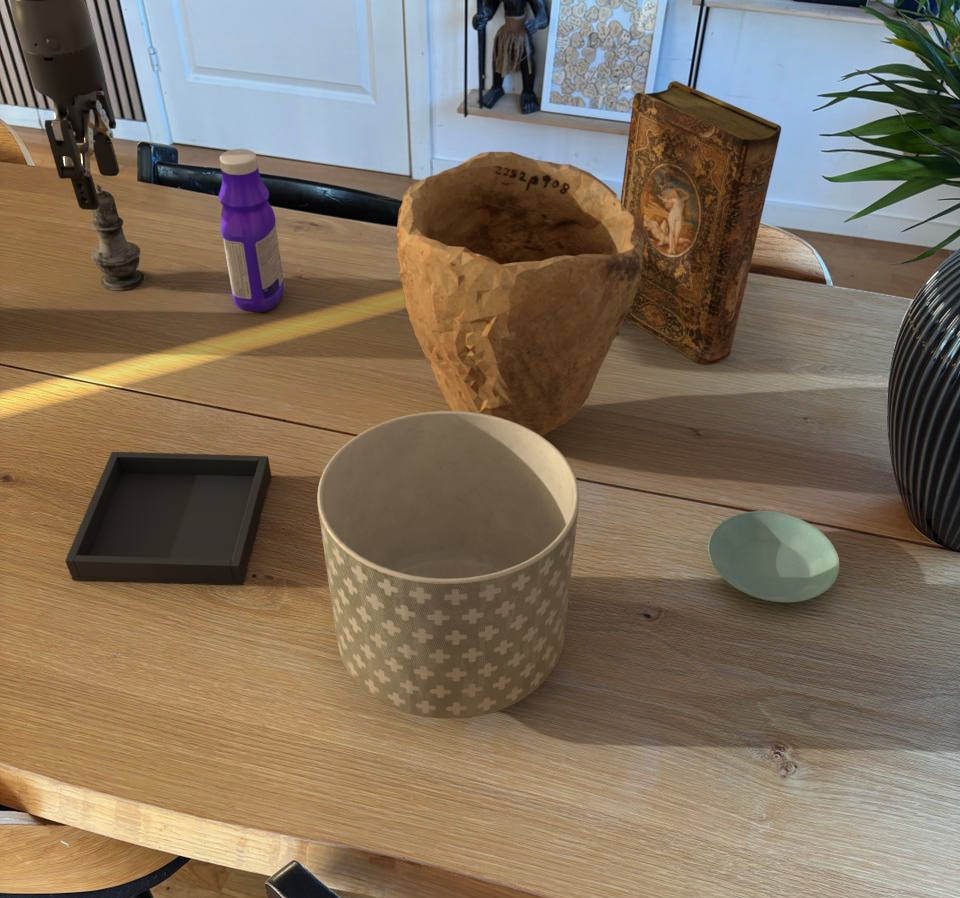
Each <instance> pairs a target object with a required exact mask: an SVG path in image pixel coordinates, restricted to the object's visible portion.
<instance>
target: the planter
mask: <svg viewBox="0 0 960 898" xmlns="http://www.w3.org/2000/svg"><path fill="white" fill-rule="evenodd" d="M570 464H571V463H570V462H569V460H567V458H566V456H564V454H563V453H562V452H561V451H560V450H559V449H558V448H557V446H555V445H553V444H552V443H551V441H549V440H548V439H546V438H545V437H544V436H540V435H539V434H537V433H535V432H534V431H532V430H530V429H528V428H526V427H524V426H522V425H519V424H517V423H514V422H512V421H509V420H506V419H502V418H499V417H495V416H491V415H486V414H480V413H473V412H463V411H452V410H439V411H436V410H435V411H426V412H419V413H412V414H408V415H407V414H406V415H403V416H399V417H395V418H393V419H390V420H386V421H383V422H381V423H378V424H377V425H374V426H372V427H370V428H368V429H366V430H364V431H362V432H361V433H359V434H358V435H356V436H354V437H353V438H351V439H349V441H347V442H346V443H345V444H344V445H342V446H341V447H340V449H338V451H336V453H334V455H333V456H332V457H331V459H330V460H329V462H328V463H327V464H326V466H325V468H324V470H323V471H322V474H321V476H320V480H319V483H318V487H317V496H316V498H317V499H316V500H317V511H318V517H319V525H320V532H321V539H322V545H323V552H324V560H325V567H326V574H327V582H328V588H329V596H330V602H331V609H332V616H333V624H334V631H335V638H336V644H337V649H338V653H339V655H340V659H341V661H342V663H343V665H344V668H345V669H346V670H347V672H348V674H349V675H350V676H351V677H352V678H353V680H354V681H355V682H356V683H357V684H358V685H359V686H360V687H361V688H362V690H364V691H365V692H366V693H368V694H369V695H371V697H373V698H375V699H376V700H378V701H379V702H382V703H383V704H385V705H387V706H389V707H391V708H394V709H396V710H399V711H401V712H405V713H408V714H411V715H416V716H420V717H425V718H432V719H446V720H447V719H449V720H450V719H451V720H452V719H466V718H474V717H479V716H483V715H488V714H492V713H495V712H497V711H500V710H503V709H506V708H507V707H511V706H512V705H515V704H516V703H518V702H520V701H522V700H523V699H524V698H526V697H527V696H529V695H531V694H532V693H534V692H535V690H536V689H537V688H539V687H540V686H541V685H542V684H543V683H544V682H545V681H546V680H547V678H548V677H549V676H550V675H551V673H552V672H553V670H554V668H555V666H557V663H558V661H559V659H560V656H561V654H562V650H563V646H564V641H565V631H566V625H567V624H566V622H567V615H568V605H569V596H570V588H571V587H570V586H571V579H572V569H573V562H574V561H573V560H574V552H575V543H576V533H577V525H578V517H579V508H580V507H579V506H580V489H579V483H578V480H577V476H576V474H575V471H574V469H573V467H572V465H570Z"/></svg>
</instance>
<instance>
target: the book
mask: <svg viewBox="0 0 960 898" xmlns="http://www.w3.org/2000/svg"><path fill="white" fill-rule="evenodd" d="M781 132H782V126H781V125H780V124H777V123H775V122H773V121H770V120H768V119H766V118H764V117H761V116H759V115H757V114H754V113H752V112H750V111H747V110H745V109H742V108H740V107H737V106H736V105H733V104H731V103H729V102H726V101H723V100H721V99H719V98H717V97H715V96H713V95H710V94H708V93H705V92H702V91H700V90H698V89H695V88H693V87H691V86H690V85H689V86H688V85H687V84H684V83H682V82H680V81H677V80H673V81H671V82H669V84H668V85H667V89H665V90H662V91H657V92H650V93H645V92H642V91H638V92H637V93H635V94H634V96H633V99H632V107H631V114H630V123H629V131H628V138H627V148H626V155H625V162H624V163H625V164H624V172H623V179H622V187H621V195H620V202H621V204H622V205H623V206H624V207H625V208H626V210H627V211H628V212H629V213H631V214H633V215H634V216H636V217H637V218H638V219H639V221H640V222H641V224H642V227H643V234H644V240H645V250H644V253H643V270H642V273H641V279H640V283H639V286H638V290H637V293H636V295H635V298H634V301H633V304H632V306H631V308H630V310H629V312H628V314H627V316H626V317H625V320H627V321H629V322H631V323H632V324H634V325H635V326H637V327H639V328H640V329H642V330H643V331H646V332H647V333H648V334H650V335H652V336H653V337H655V338H656V339H658V340H659V341H661V342H662V343H665V344H666V345H668V346H669V347H670V348H673V349H674V350H675V351H678V352H679V353H681V354H682V355H684V356H686V357H687V358H689V359H690V360H692V361H694V362H695V363H697V364H700V365H712V364H716V363H717V364H718V363H719V362H721V361H724V360H726V359H727V358H728V357H729V356H730V355H731V353H732V348H733V344H734V339H735V335H736V331H737V326H738V323H739V317H740V313H741V309H742V304H743V299H744V295H745V290H746V287H747V282H748V278H749V273H750V269H751V265H752V261H753V256H754V251H755V246H756V243H757V238H758V233H759V229H760V224H761V220H762V217H763V212H764V207H765V203H766V199H767V195H768V189H769V185H770V180H771V177H772V172H773V168H774V164H775V160H776V159H775V158H776V155H777V150H778V145H779V141H780V138H781Z"/></svg>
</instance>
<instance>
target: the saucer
mask: <svg viewBox="0 0 960 898" xmlns="http://www.w3.org/2000/svg"><path fill="white" fill-rule="evenodd" d="M707 551H708V557H709V560H710V562H711V564H712V566H713V568H714V569H715V571H716V572H717V573H718V575H720V577H721V578H722V579H723V580H724V581H725V582H727V583H728V584H729V585H731V586H732V587H734V589H736V590H738V591H740V592H741V593H743V594H746V595H747V596H750V597H752V598H755V599H758V600H762V601H765V602H770V603H771V602H772V603H798V602H804V601H808V600H811V599H814V598H817V597H819V596H820V595H822V594H824V593H826V592H827V591H828V590H829V589H830V588H831V587H832V586H833V585H834V584H835V582H836V581H837V579H838V576H839V573H840V558H839V555H838V552H837V550H836V548H835V546H834V544H833V543H832V541H831V540H830V539H829V538H828V537H827V536H826V535H825V534H824V533H823V532H822V531H821V530H819V529H818V528H817V527H815V526H814V525H813V524H811V523H809V522H807V521H805V520H803V519H802V518H799V517H798V516H793V515H791V514H786V513H783V512H778V511H770V510H756V511H747V512H741V513H738V514H735V515H732V516H730V517H728V518H726V519H724V520H723V521H721V522H720V523H719V524H718V525H717V526H716V527H715V528H714V529H713V531H712V533H711V534H710V537H709V539H708V546H707Z"/></svg>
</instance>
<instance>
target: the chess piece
mask: <svg viewBox="0 0 960 898" xmlns="http://www.w3.org/2000/svg"><path fill="white" fill-rule="evenodd" d="M95 189H96V192H97V196H98V199H99V203H100V205H99V207H98V208H97V209H96V210H91V214H92V216H93V221H92V223H91V225H92V227H93V229H95V230H96V233H97V237H98V240H99V241H98V242H99V246H96V247H95V248H94V249H93V251H92V252H91V254H90V255H91V260H92V261H93V262H94V263H95V265H96V267H97V268H98V269H99V270H100V271H101V272H102V273H103V274H104V275H103V276H102V277H101V279H100V283H101V285H102V286H103V288H104V289H106V290H109V291H115V292H124V291H129V290H133V289H135V288H138V287H139V286H141V285H143V283H144V281H145V279H146V278H145V273H143V272H142V271H141V270H139V269H138V268H139V265H140V260H141V259H140V255H141V252H142V251H141V248H140V247H139V246H138V245H137V244H136V243H134V242H131V241H128V240H127V239H126V236H125V233H124V229H123V225H124V220H123V219H122V218H121V217H120V216H119V214H118V213H119V212H118V209H117V205H116V202H115V198H114V196H113V195H112V193H110V192H109V191H106V190H103V189H102V186H100V185H99V184H96V185H95Z"/></svg>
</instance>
